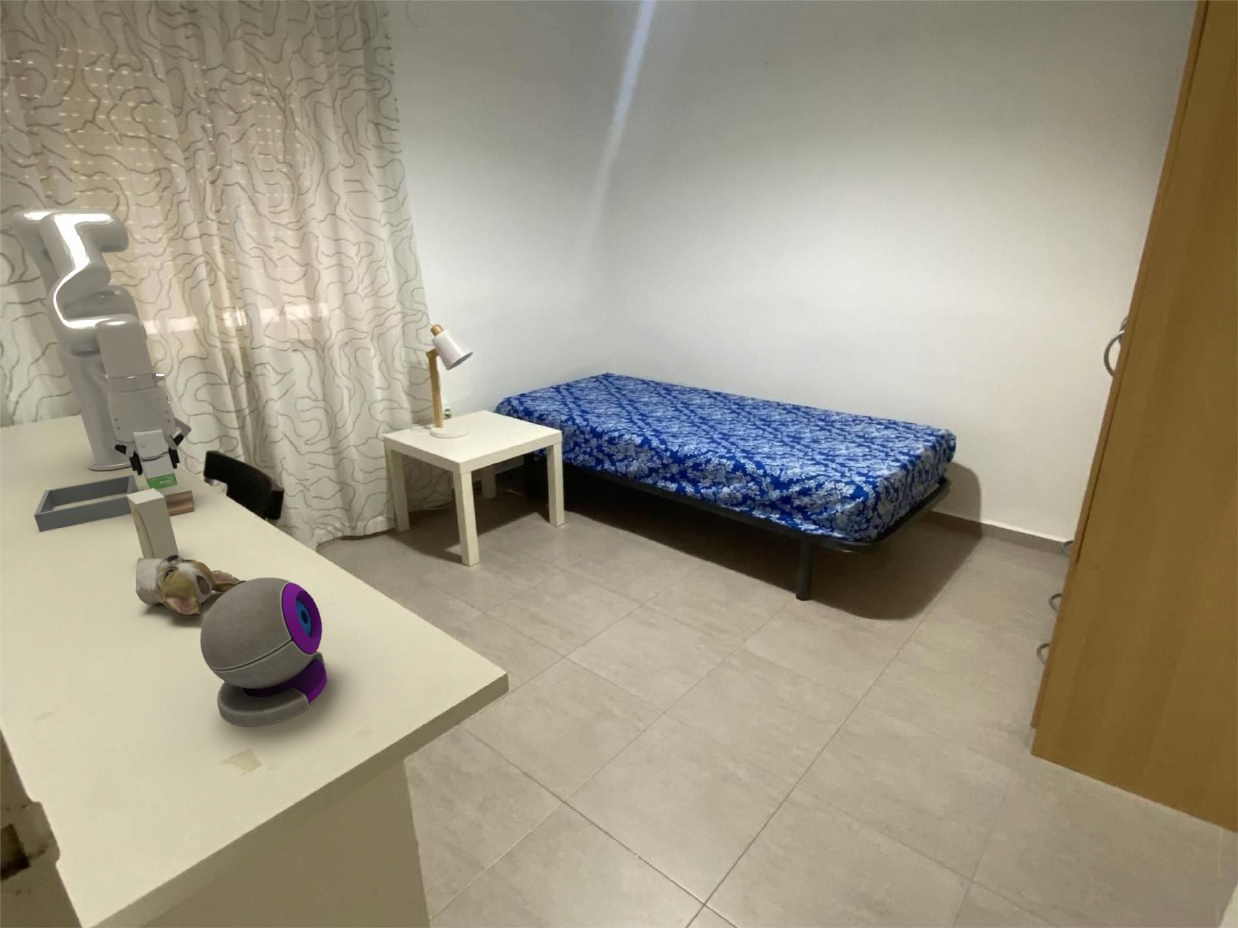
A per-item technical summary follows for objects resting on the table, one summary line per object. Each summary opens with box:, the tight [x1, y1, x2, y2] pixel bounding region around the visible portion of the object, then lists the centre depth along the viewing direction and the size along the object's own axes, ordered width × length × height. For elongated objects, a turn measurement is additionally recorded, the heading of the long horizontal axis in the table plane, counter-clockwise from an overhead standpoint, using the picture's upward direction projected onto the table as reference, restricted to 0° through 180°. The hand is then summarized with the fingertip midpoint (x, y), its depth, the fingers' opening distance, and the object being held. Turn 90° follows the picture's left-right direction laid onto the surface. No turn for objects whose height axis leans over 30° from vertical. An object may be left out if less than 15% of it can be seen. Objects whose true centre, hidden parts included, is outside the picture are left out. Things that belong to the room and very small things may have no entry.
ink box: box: [133, 429, 178, 491], centre depth 138 cm, size 9×5×12 cm, turn 39°
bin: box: [33, 474, 139, 532], centre depth 142 cm, size 16×16×4 cm
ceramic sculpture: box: [135, 555, 247, 619], centre depth 104 cm, size 11×9×15 cm
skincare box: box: [126, 488, 180, 560], centre depth 118 cm, size 6×4×12 cm
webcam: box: [200, 577, 328, 727], centre depth 82 cm, size 13×13×15 cm
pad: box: [163, 489, 195, 517], centre depth 142 cm, size 11×9×1 cm
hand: (157, 469), depth 139 cm, fingers closed on ink box, 5 cm apart
